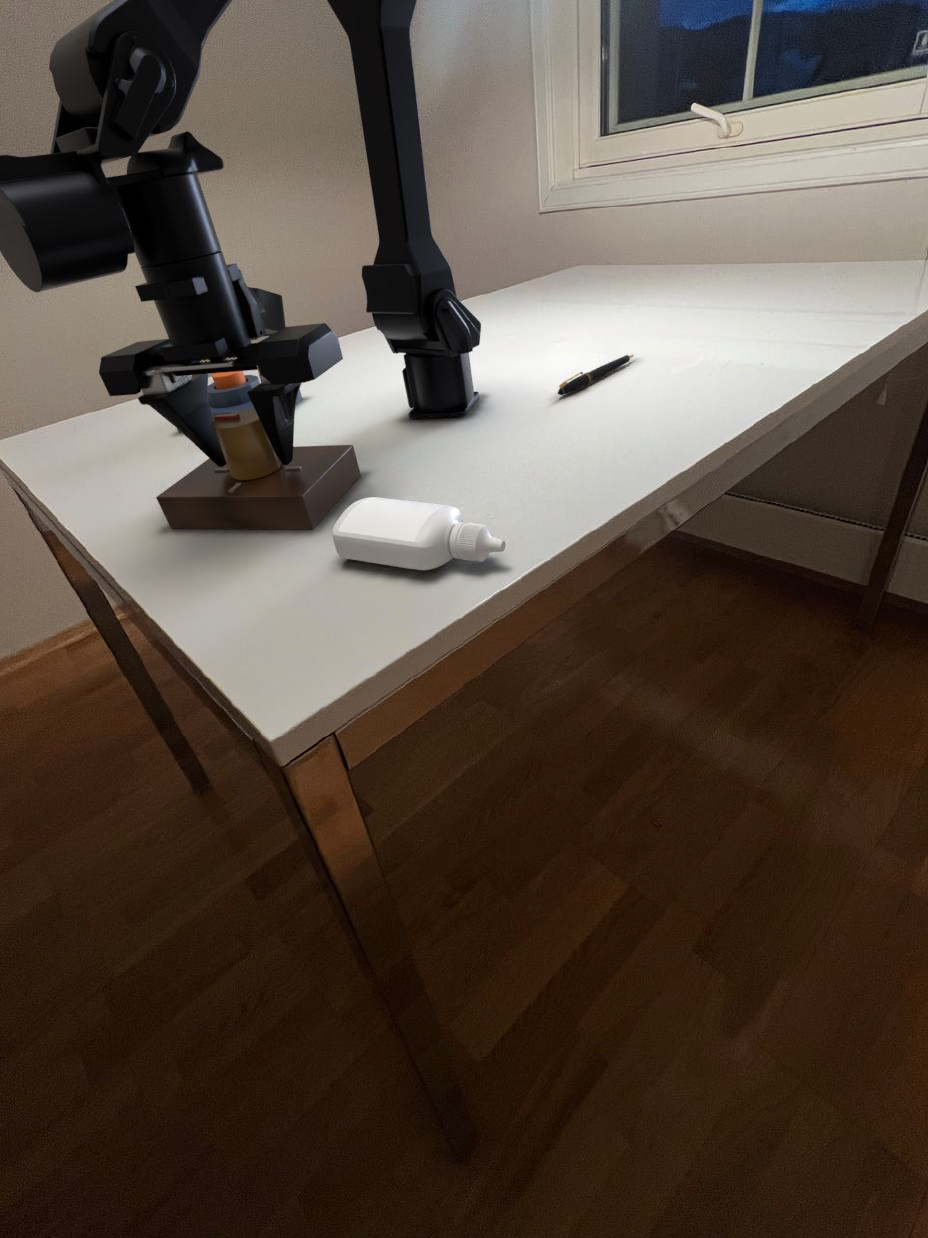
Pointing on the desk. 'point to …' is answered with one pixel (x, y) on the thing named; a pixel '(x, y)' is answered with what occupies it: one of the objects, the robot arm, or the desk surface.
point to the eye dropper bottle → (410, 534)
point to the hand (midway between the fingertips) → (255, 464)
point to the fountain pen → (591, 376)
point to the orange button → (228, 379)
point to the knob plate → (263, 493)
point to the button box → (233, 397)
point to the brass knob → (245, 445)
